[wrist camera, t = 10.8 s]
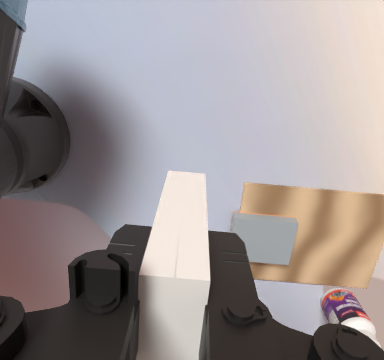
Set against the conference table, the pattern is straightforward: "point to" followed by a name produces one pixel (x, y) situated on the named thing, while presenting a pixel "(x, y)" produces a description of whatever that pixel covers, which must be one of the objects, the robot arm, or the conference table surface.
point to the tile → (266, 236)
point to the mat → (322, 233)
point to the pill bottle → (347, 311)
